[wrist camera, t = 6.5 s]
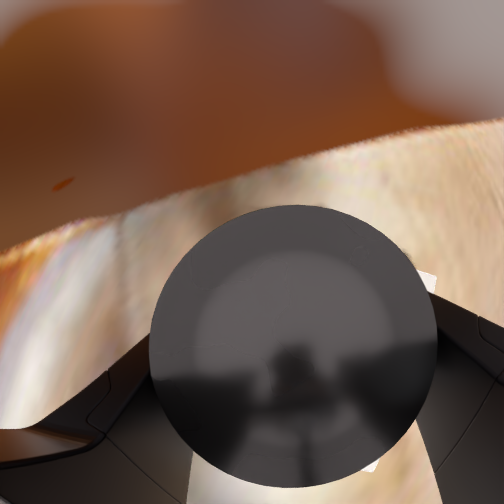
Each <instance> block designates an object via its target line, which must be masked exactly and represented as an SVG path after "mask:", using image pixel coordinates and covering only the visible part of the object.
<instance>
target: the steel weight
mask: <svg viewBox="0 0 504 504" xmlns="http://www.w3.org/2000/svg"><path fill="white" fill-rule="evenodd" d="M437 347H438V340H437V326H436V320H435V315H434V310H433V306H432V303H431V300H430V297H429V294H428V292H427V289H426V287H425V285H424V283H423V281H422V279H421V277H420V275H419V273H418V272H417V270H416V269H415V267H414V266H413V264H412V263H411V262H410V260H409V259H408V257H407V256H406V255H405V254H404V253H403V252H402V251H401V250H400V249H399V247H398V246H397V245H396V244H395V243H393V242H392V241H391V240H390V239H389V238H388V237H386V236H385V235H384V234H383V233H381V232H380V231H378V230H377V229H375V228H374V227H372V226H371V225H369V224H368V223H366V222H364V221H362V220H359V219H357V218H355V217H353V216H351V215H348V214H345V213H342V212H339V211H336V210H333V209H328V208H323V207H317V206H306V205H286V206H276V207H270V208H265V209H260V210H257V211H254V212H250V213H247V214H244V215H242V216H240V217H237V218H235V219H233V220H231V221H228V222H227V223H225V224H223V225H221V226H220V227H218V228H216V229H215V230H213V231H212V232H210V233H209V234H208V235H207V236H205V237H204V238H203V239H201V240H200V241H199V242H198V243H197V244H196V245H195V246H194V247H193V248H192V249H191V250H190V251H189V252H188V253H187V254H186V255H185V256H184V257H183V258H182V260H181V261H180V262H179V263H178V265H177V266H176V267H175V269H174V270H173V272H172V273H171V275H170V277H169V278H168V280H167V282H166V283H165V285H164V287H163V290H162V292H161V294H160V296H159V299H158V301H157V304H156V308H155V311H154V315H153V318H152V324H151V330H150V336H149V360H150V370H151V376H152V380H153V384H154V388H155V392H156V394H157V397H158V399H159V402H160V404H161V407H162V409H163V411H164V413H165V415H166V416H167V418H168V420H169V422H170V423H171V425H172V426H173V428H174V429H175V430H176V432H177V433H178V434H179V436H180V437H181V438H182V439H183V440H184V442H185V443H186V444H187V445H188V446H189V447H190V448H191V449H192V450H193V451H194V452H195V453H197V454H198V455H199V456H201V457H202V458H203V459H204V460H206V461H207V462H208V463H210V464H211V465H213V466H215V467H216V468H218V469H220V470H222V471H223V472H225V473H227V474H229V475H232V476H234V477H237V478H239V479H242V480H244V481H248V482H252V483H255V484H259V485H264V486H271V487H281V488H299V487H309V486H316V485H322V484H326V483H329V482H333V481H336V480H339V479H342V478H345V477H347V476H349V475H351V474H353V473H356V472H358V471H360V470H362V469H363V468H365V467H367V466H368V465H370V464H371V463H373V462H375V461H376V460H378V459H379V458H380V457H381V456H383V455H384V454H385V453H386V452H387V451H389V450H390V449H391V448H392V447H393V446H394V445H395V444H396V443H397V442H398V441H399V440H400V439H401V437H402V436H403V435H404V434H405V433H406V432H407V430H408V429H409V428H410V426H411V425H412V423H413V422H414V420H415V419H416V417H417V416H418V414H419V412H420V410H421V408H422V406H423V404H424V402H425V400H426V398H427V395H428V392H429V390H430V387H431V384H432V381H433V376H434V372H435V367H436V361H437Z"/></svg>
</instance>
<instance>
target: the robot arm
mask: <svg viewBox="0 0 504 504" xmlns="http://www.w3.org/2000/svg"><path fill="white" fill-rule="evenodd" d="M427 292H428V294H429V297H430V300H431V303H432V306H433V310H434V315H435V320H436V326H437V340H438V347H437V361H436V367H435V372H434V376H433V381H432V384H431V387H430V390H429V392H428V395H427V398H426V400H425V402H424V404H423V406H422V408H421V410H420V412H419V414H418V416H417V417H416V421H417V424H418V427H419V430H420V432H421V435H422V438H423V441H424V444H425V447H426V450H427V453H428V456H429V459H430V462H431V465H432V468H433V471H434V473H435V474H434V475H435V478H436V482H437V485H438V488H439V492H440V495H441V499H442V503H443V504H504V328H503V327H501V326H499V325H497V324H495V323H493V322H491V321H488V320H487V319H485V318H483V317H481V316H479V317H478V315H476V314H474V313H472V312H470V311H468V310H466V309H464V308H462V307H460V306H458V305H456V304H454V303H452V302H450V301H448V300H446V299H443V298H441V297H439V296H437V295H435V294H433V293H431V292H429V291H427ZM149 336H150V333H149V334H148V335H147V336H145V337H144V338H143V339H142V340H141V341H140V342H139V343H137V344H136V345H135V346H134V347H133V348H132V349H130V350H129V351H128V352H127V353H126V354H125V355H123V356H122V357H121V358H120V359H119V360H118V361H116V362H115V363H114V364H113V365H112V366H111V367H109V368H108V371H107V370H106V371H105V372H104V373H102V374H101V375H100V376H99V377H98V378H97V379H95V380H94V381H93V382H92V383H91V384H89V385H88V386H87V387H86V388H85V389H83V390H82V391H81V392H79V393H78V394H77V395H75V396H74V397H73V398H71V399H70V400H69V401H67V402H66V403H64V404H63V405H62V406H60V407H59V408H58V409H56V410H55V411H53V412H52V413H51V414H49V415H48V416H47V417H45V418H44V419H42V420H41V421H39V422H38V423H36V424H34V425H32V426H29V427H26V428H21V429H0V504H186V499H187V492H188V484H189V477H190V470H191V463H192V456H193V450H192V449H191V448H190V447H189V446H188V445H187V444H186V443H185V442H184V440H183V439H182V438H181V437H180V436H179V434H178V433H177V432H176V430H175V429H174V428H173V426H172V425H171V423H170V422H169V420H168V418H167V416H166V415H165V413H164V411H163V409H162V407H161V404H160V402H159V399H158V397H157V394H156V392H155V388H154V384H153V380H152V376H151V370H150V360H149Z"/></svg>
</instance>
